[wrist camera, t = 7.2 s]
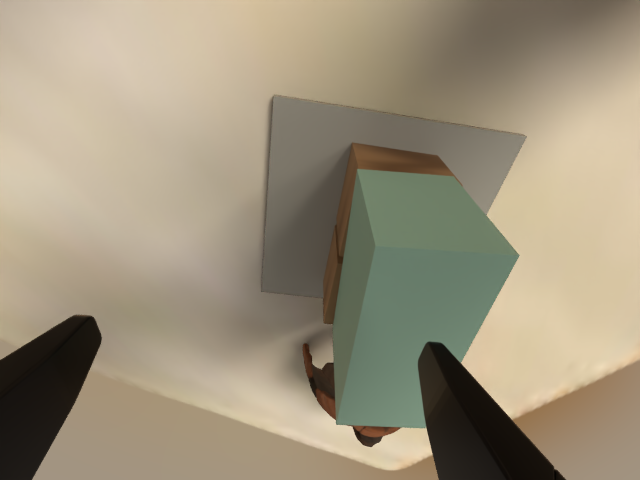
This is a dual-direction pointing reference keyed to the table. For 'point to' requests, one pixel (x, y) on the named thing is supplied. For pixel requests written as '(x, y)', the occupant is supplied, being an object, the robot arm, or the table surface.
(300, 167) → the build mat
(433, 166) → the post
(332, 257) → the brown wooden block
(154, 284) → the table surface
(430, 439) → the robot arm
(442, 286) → the lintel
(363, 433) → the brown curved piece
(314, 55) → the table surface
